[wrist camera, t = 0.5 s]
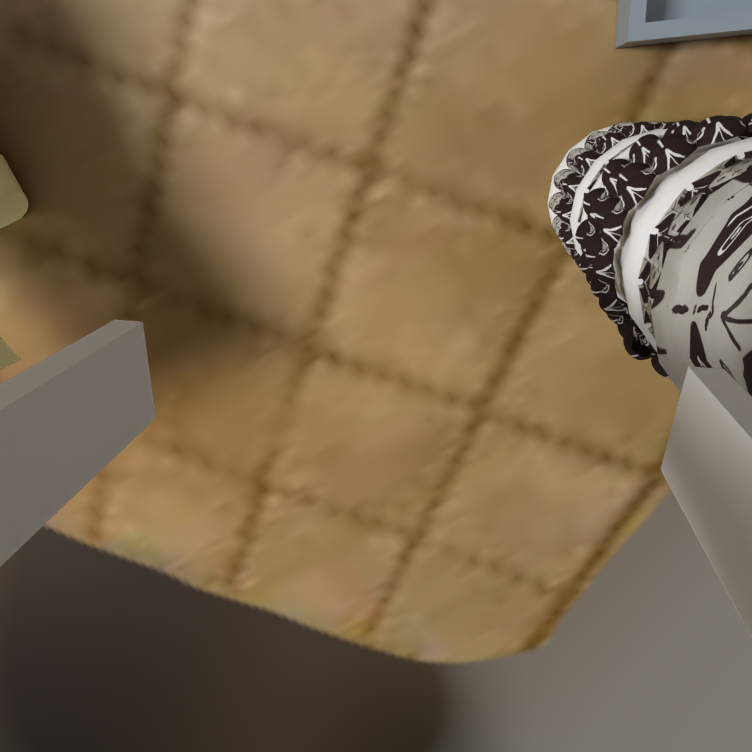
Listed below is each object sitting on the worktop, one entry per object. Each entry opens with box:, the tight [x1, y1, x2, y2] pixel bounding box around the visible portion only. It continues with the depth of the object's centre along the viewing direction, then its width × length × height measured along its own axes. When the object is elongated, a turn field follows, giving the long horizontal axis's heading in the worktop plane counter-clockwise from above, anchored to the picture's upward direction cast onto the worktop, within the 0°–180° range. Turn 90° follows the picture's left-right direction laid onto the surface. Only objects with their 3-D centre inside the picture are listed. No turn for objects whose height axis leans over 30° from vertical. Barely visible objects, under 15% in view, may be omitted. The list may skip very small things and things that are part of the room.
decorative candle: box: [547, 113, 752, 396], centre depth 25 cm, size 9×9×25 cm
